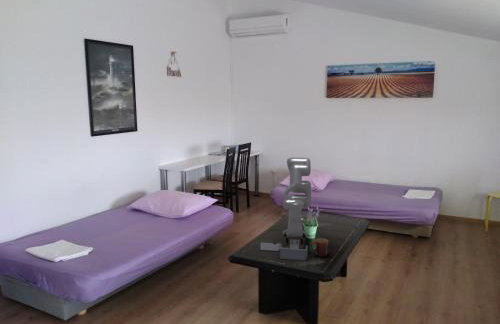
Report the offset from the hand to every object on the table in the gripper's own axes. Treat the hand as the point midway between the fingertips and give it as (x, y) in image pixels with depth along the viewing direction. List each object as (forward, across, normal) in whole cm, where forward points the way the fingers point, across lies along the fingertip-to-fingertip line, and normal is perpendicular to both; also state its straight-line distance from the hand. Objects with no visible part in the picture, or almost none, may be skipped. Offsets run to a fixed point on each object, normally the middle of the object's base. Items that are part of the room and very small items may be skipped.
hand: (294, 243), depth 275 cm
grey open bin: (+5, 0, +11) cm, 12 cm away
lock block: (+5, 0, -1) cm, 5 cm away
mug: (+5, -17, +6) cm, 19 cm away
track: (+5, +17, +4) cm, 18 cm away
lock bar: (+5, +16, +4) cm, 17 cm away
